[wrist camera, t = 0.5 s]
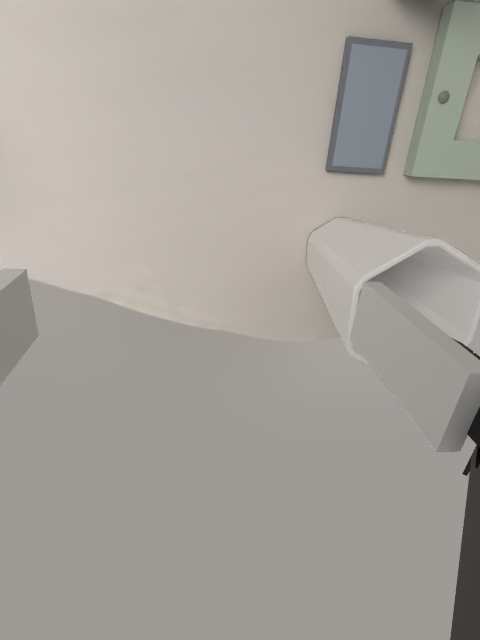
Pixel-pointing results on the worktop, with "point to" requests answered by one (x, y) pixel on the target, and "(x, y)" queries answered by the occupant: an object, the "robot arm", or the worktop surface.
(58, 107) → the worktop surface
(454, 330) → the cup
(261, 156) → the worktop surface
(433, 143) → the outlet plate
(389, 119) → the phone
